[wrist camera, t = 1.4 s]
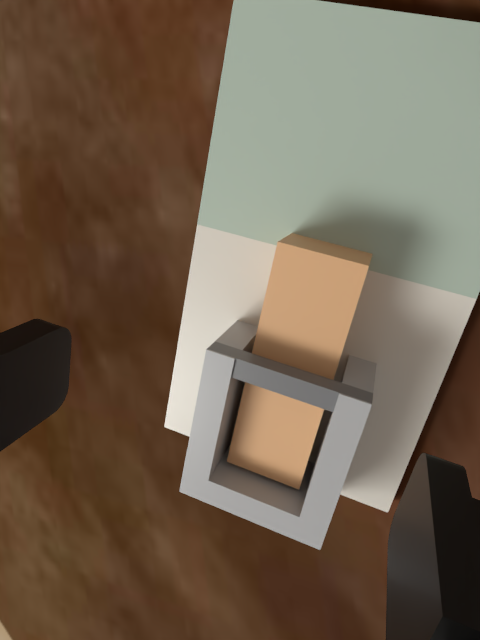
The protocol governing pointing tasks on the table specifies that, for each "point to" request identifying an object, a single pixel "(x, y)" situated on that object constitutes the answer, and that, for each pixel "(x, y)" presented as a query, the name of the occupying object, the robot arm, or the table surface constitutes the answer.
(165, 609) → the table surface
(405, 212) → the two-tone mat
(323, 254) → the tan wooden plank
